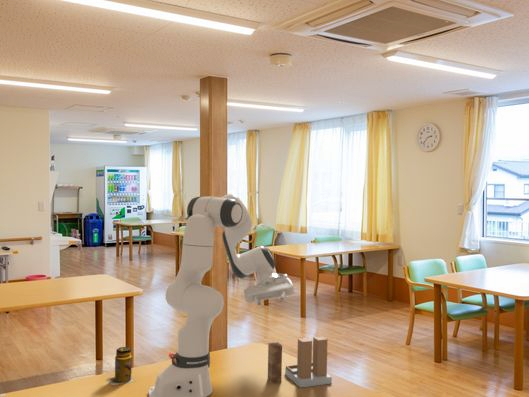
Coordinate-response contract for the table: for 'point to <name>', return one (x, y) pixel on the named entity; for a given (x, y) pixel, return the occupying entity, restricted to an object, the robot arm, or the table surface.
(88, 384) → the table surface
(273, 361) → the stool leg
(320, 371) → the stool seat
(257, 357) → the table surface
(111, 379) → the condiment
